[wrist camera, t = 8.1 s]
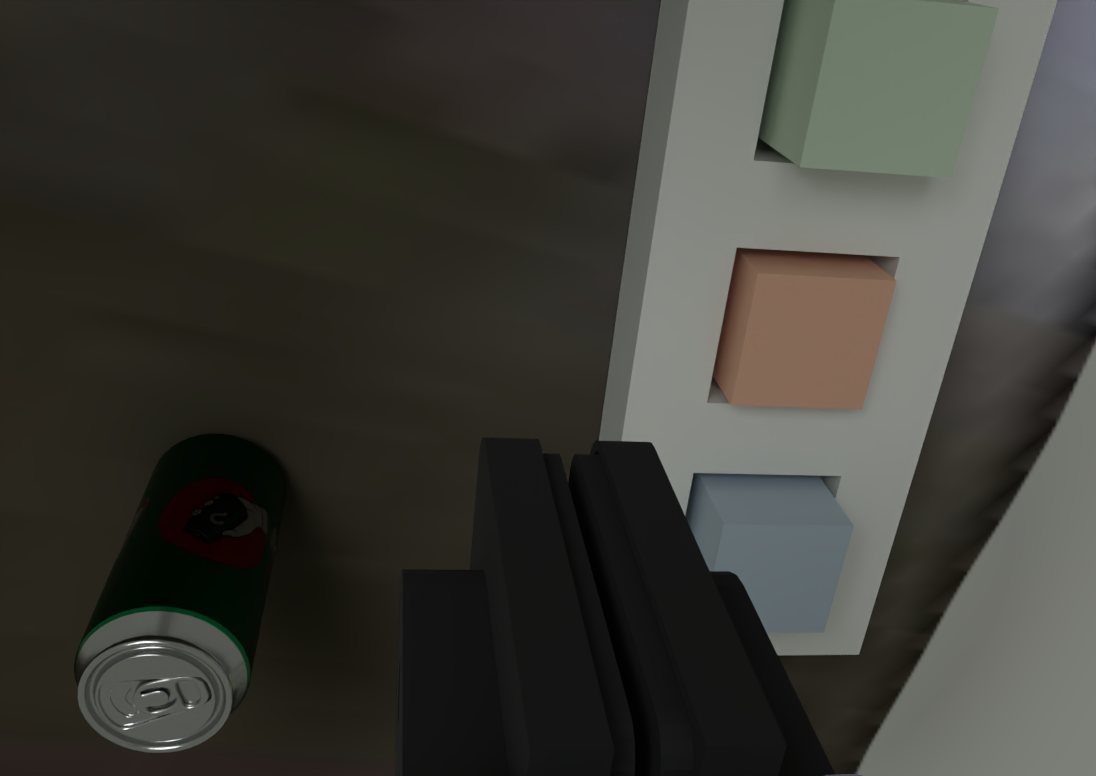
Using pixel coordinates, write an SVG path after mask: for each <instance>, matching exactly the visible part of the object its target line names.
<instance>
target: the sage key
mask: <svg viewBox="0 0 1096 776" xmlns="http://www.w3.org/2000/svg"><path fill="white" fill-rule="evenodd" d="M998 10H999V8H994V7H989V6H984V5H980V4H975V3H970V2H965V1H961V0H785V3H784V8H783V13H782V18H781V23H780V29H779V34H778V39H777V44H776V49H775V55H774V60H773V65H772V70H771V75H770V81H769V86H768V91H767V96H766V101H765V107H764V112H763V117H762V122H761V127H760V133H759V138H760V139H761V140H763V141H764V142H765V143H767V144H768V145H770V146H771V147H772V148H774V149H775V150H777V151H778V152H779V153H781V154H782V155H784V156H785V157H786V158H788V159H789V160H790V161H792V162H793V163H795V164H796V165H797V166H799V167H805V168H818V169H832V170H846V171H859V172H873V173H887V174H900V175H914V176H928V177H941V178H952V174H953V171H954V167H955V164H956V160H957V156H958V153H959V149H960V146H961V142H962V139H963V135H964V131H965V128H966V124H967V121H968V117H969V114H970V110H971V107H972V103H973V99H974V96H975V92H976V89H977V85H978V82H979V78H980V74H981V71H982V67H983V64H984V60H985V57H986V53H987V50H988V46H989V42H990V39H991V35H992V32H993V28H994V25H995V21H996V17H997V14H998Z"/></svg>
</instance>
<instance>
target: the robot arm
mask: <svg viewBox="0 0 1096 776" xmlns="http://www.w3.org/2000/svg"><path fill="white" fill-rule="evenodd" d="M395 776H861V775H856V774H845V775H835V773H834V771H833V769H832V767H831V765H830V763H829V761H828V759H827V756H826V754H825V752H824V750H823V748H822V746H821V744H820V742H819V740H818V738H817V736H816V734H815V732H814V730H813V728H812V725H811V723H810V721H809V719H808V717H807V715H806V713H805V711H804V709H803V707H802V705H801V703H800V701H799V699H798V697H797V694H796V692H795V690H794V688H793V686H792V684H791V682H790V680H789V678H788V676H787V674H786V672H785V670H784V668H783V665H782V663H781V661H780V659H779V657H778V655H777V653H776V651H775V649H774V647H773V645H772V643H771V641H770V639H769V637H768V634H767V632H766V630H765V628H764V626H763V624H762V622H761V620H760V618H759V616H758V614H757V612H756V610H755V608H754V605H753V603H752V601H751V599H750V597H749V595H748V593H747V591H746V589H745V587H744V585H743V583H742V582H741V580H740V579H739V577H738V576H737V575H736V574H734V573H732V572H730V571H709V569H708V566H707V564H706V562H705V560H704V557H703V555H702V553H701V551H700V548H699V546H698V544H697V542H696V539H695V537H694V535H693V533H692V530H691V528H690V526H689V524H688V521H687V519H686V517H685V515H684V512H683V510H682V508H681V506H680V503H679V501H678V499H677V497H676V494H675V492H674V490H673V488H672V485H671V483H670V481H669V479H668V476H667V474H666V472H665V470H664V467H663V465H662V463H661V461H660V458H659V456H658V454H657V452H656V449H655V447H654V446H653V444H652V443H651V442H633V441H595V443H594V444H593V447H592V450H591V454H590V455H583V454H575V455H574V457H573V459H572V463H571V469H570V476H569V484H568V482H567V478H566V474H565V471H564V467H563V463H562V460H561V457H560V454H543V453H542V449H541V445H540V442H539V439H520V438H482V441H481V446H480V455H479V465H478V478H477V490H476V502H475V514H474V526H473V538H472V550H471V562H470V570H402V576H401V592H400V613H399V635H398V662H397V696H396V771H395Z"/></svg>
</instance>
